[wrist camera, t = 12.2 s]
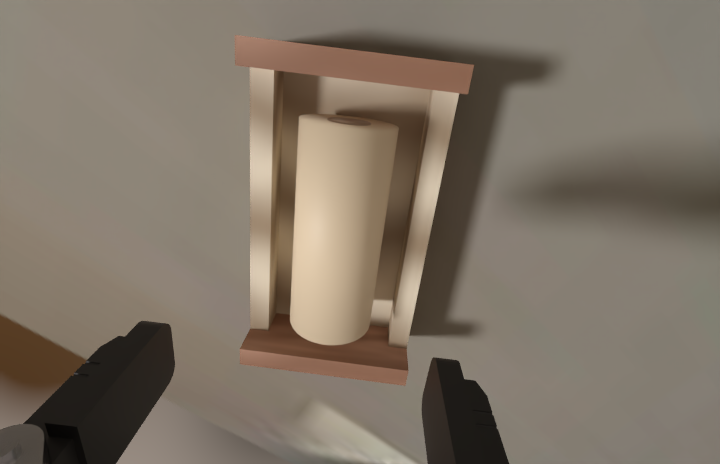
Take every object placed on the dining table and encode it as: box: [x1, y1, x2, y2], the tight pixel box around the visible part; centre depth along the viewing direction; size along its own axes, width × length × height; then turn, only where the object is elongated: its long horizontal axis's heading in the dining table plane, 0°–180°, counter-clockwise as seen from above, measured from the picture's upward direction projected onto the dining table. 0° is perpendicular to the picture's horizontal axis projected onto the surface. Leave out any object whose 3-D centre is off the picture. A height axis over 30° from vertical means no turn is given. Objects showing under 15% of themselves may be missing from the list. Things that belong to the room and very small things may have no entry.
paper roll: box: [290, 114, 399, 345], centre depth 21 cm, size 12×5×5 cm, turn 174°
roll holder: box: [235, 35, 474, 386], centre depth 22 cm, size 18×10×5 cm, turn 174°
